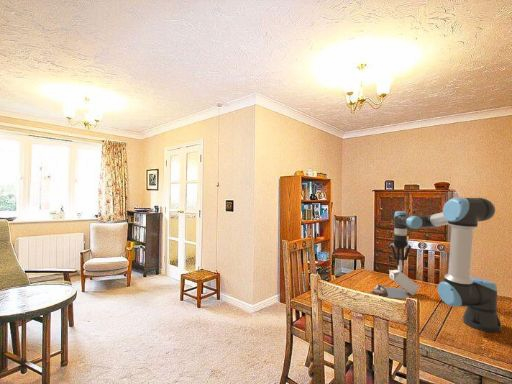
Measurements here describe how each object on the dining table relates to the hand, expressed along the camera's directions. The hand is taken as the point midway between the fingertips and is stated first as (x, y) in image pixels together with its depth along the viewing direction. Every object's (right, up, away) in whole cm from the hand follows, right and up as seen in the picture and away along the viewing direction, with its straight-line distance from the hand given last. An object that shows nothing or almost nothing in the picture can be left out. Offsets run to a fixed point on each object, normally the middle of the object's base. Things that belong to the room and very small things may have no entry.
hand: (400, 270), depth 181 cm
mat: (-4, -16, +1) cm, 16 cm away
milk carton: (+9, -13, -2) cm, 16 cm away
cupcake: (-20, -16, -14) cm, 29 cm away
